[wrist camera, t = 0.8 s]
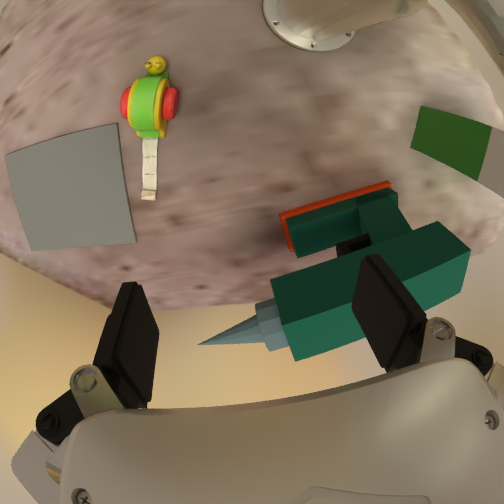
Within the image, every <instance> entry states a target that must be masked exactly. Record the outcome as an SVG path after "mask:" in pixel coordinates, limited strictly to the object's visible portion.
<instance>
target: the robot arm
mask: <svg viewBox="0 0 504 504" xmlns="http://www.w3.org/2000/svg"><path fill="white" fill-rule="evenodd" d="M445 1H446V2H447V3H448V4H449V5H450V6H451V7H452V8H453V9H454V10H455V11H456V12H457V13H458V14H459V16H460V17H461V18H462V19H463V20H464V22H465V23H466V24H467V25H468V27H469V28H470V29H471V31H472V32H473V33H474V35H475V36H476V37H477V39H478V40H479V41H480V43H481V44H482V45H483V47H484V48H485V50H486V51H487V53H488V54H489V55H490V57H491V59H492V60H493V62H494V63H495V64H496V66H497V67H498V69H499V70H500V72H501V73H502V74H503V76H504V0H445ZM426 2H427V0H263V13H264V17H265V19H266V21H267V23H268V25H269V27H270V28H271V29H272V31H273V32H274V33H275V34H276V35H277V36H278V37H279V38H281V39H282V40H284V41H285V42H286V43H288V44H290V45H292V46H294V47H296V48H299V49H302V50H305V51H311V52H326V51H332V50H335V49H338V48H340V47H342V46H344V45H345V44H347V43H348V42H349V41H350V40H351V39H352V38H353V36H354V34H355V32H356V30H358V29H361V28H364V27H367V26H370V25H374V24H377V23H381V22H384V21H388V20H392V19H397V18H401V17H405V16H408V15H411V14H413V13H415V12H417V11H418V10H420V9H421V8H422V7H423V6H424V5H425V3H426ZM273 23H276V24H277V25H274V24H273ZM346 34H347V36H346ZM311 45H313V48H312V47H311ZM351 307H352V312H353V314H354V315H355V317H356V319H357V321H358V323H359V325H360V327H361V329H362V331H363V332H364V334H365V336H366V338H367V340H368V342H369V344H370V346H371V348H372V350H373V352H374V354H375V356H376V358H377V360H378V362H379V364H380V366H381V367H382V368H385V370H386V372H387V373H385V374H382V375H379V376H376V377H373V378H369V379H366V380H362V381H359V382H355V383H351V384H347V385H344V386H340V387H336V388H331V389H327V390H323V391H318V392H314V393H309V394H304V395H299V396H293V397H288V398H282V399H276V400H269V401H263V402H255V403H246V404H237V405H227V406H215V407H200V408H199V407H198V408H173V409H147V403H148V402H150V401H151V398H152V388H153V379H154V371H155V363H156V355H157V348H158V341H159V330H158V327H157V324H156V322H155V319H154V317H153V314H152V312H151V309H150V307H149V304H148V301H147V299H146V296H145V293H144V291H143V288H142V286H141V285H138V284H137V282H124V283H122V285H121V288H120V290H119V293H118V296H117V298H116V301H115V304H114V307H113V309H112V313H111V314H110V315H109V316H108V318H107V320H106V323H105V326H104V329H103V332H102V335H101V338H100V341H99V344H98V348H97V351H96V354H95V357H94V361H93V364H92V365H89V364H88V365H83V366H81V367H79V368H77V369H76V370H75V371H74V373H73V374H72V376H71V378H70V384H69V385H70V390H69V391H67V392H66V393H64V394H63V395H62V396H60V397H59V398H58V399H56V400H55V401H54V402H52V403H51V404H50V405H48V406H47V407H45V408H44V409H43V410H42V411H41V412H40V413H39V414H38V416H37V419H36V429H37V430H36V431H35V432H34V431H33V430H32V431H31V432H30V434H29V435H28V437H27V438H26V439H25V441H24V442H23V443H22V445H21V446H20V448H19V449H18V451H17V452H16V453H15V455H14V456H13V459H12V463H11V466H12V470H13V472H14V474H15V476H16V477H17V478H18V480H19V481H20V482H21V483H22V485H23V486H24V487H25V488H26V490H27V491H28V492H29V493H30V494H31V495H32V497H33V498H34V499H35V500H36V501H37V502H38V503H39V504H504V366H503V365H501V364H500V363H498V362H495V363H493V357H492V354H491V353H490V351H489V350H487V348H485V347H483V346H481V345H478V344H475V343H473V342H470V341H467V340H465V339H462V338H460V337H457V336H455V329H454V327H453V326H452V324H451V323H450V322H449V321H447V320H445V319H443V318H440V317H434V318H431V319H429V320H428V319H427V318H426V313H425V312H424V311H423V309H422V308H421V307H420V305H419V304H418V303H417V301H416V300H415V299H414V297H413V296H412V295H411V293H410V292H409V291H408V289H407V288H406V287H405V286H404V284H403V283H402V282H401V281H400V279H399V278H398V277H397V276H396V274H395V273H394V272H393V271H392V269H391V268H390V267H389V266H388V265H387V263H386V262H385V261H384V260H383V259H382V257H381V256H380V255H379V254H370V255H366V256H365V257H364V259H362V260H361V263H360V268H359V273H358V278H357V283H356V287H355V291H354V296H353V300H352V305H351ZM138 408H145V409H138Z"/></svg>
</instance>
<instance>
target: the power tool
mask: <svg viewBox="0 0 504 504" xmlns="http://www.w3.org/2000/svg"><path fill="white" fill-rule="evenodd" d="M279 214H280V218H281V221H282V225H283V228H284V232H285V235H286V239H287V242H288V246H289V249H290V252H293V251H295V253H296V256H297V258H300V257H304V256H307V255H310V254H313V253H316V252H319V251H322V250H325V249H328V248H331V247H334V246H336V251H337V258H334V259H331V260H329V261H326V262H323V263H320V264H317V265H314V266H311V267H308V268H305V269H302V270H299V271H296V272H292V273H289V274H286V275H283V276H280V277H277V278H274V279H271V280H270V282H271V285H272V289H273V293H274V297H275V298H273V299H269V300H266V301H263V302H260V303H256V304H255V309H256V315H254V316H253V317H251V318H249V319H247V320H245V321H243V322H241V323H239V324H238V325H235V326H234V327H232V328H230V329H228V330H226V331H224V332H222V333H220V334H218V335H216V336H214V337H212V338H210V339H208V340H206V341H204V342H202V343H200V344H198V345H213V344H240V343H257V342H265V344H266V346H267V348H268V350H269V351H273V350H277V349H281V348H284V347H287V346H290V349H291V352H292V354H293V357H294V359H295V361H299V360H302V359H305V358H309V357H312V356H315V355H318V354H321V353H324V352H327V351H330V350H332V349H335V348H338V347H341V346H344V345H346V344H349V343H351V342H354V341H357V340H360V339H362V338H365V337H366V336H365V334H364V332H363V331H362V329H361V327H360V325H359V323H358V321H357V319H356V317H355V315H354V314H353V312H352V307H351V305H352V300H353V296H354V291H355V287H356V283H357V278H358V273H359V268H360V263H361V260H362V259H364V257H365V256H366V255H370V254H379V255H380V256H381V257H382V259H383V260H384V261H385V262H386V263H387V265H388V266H389V267H390V268H391V269H392V271H393V272H394V273H395V274H396V276H397V277H398V278H399V279H400V281H401V282H402V283H403V284H404V286H405V287H406V288H407V289H408V291H409V292H410V293H411V295H412V296H413V297H414V299H415V300H416V301H417V303H418V304H419V305H420V307H421V308H422V309H423V311H425V310H428V309H430V308H432V307H434V306H436V305H438V304H439V303H441V302H443V301H445V300H447V299H449V298H451V297H453V296H454V295H456V294H458V293H460V291H461V288H462V284H463V281H464V277H465V273H466V269H467V265H468V261H469V256H470V252H471V250H470V249H469V248H468V247H467V246H466V245H465V244H464V243H463V242H462V241H461V240H459V239H458V238H457V237H456V236H455V235H454V234H453V233H451V232H450V231H449V230H448V229H447V228H446V227H444V226H443V225H442V224H441V223H440V222H438V221H436V222H434V223H431V224H429V225H426V226H423V227H421V228H418V229H415V230H413V231H412V229H411V227H410V226H409V224H408V222H407V221H406V219H405V218H404V216H403V215H402V213H401V211H400V210H399V208H398V193H396V192H395V191H393V190H392V189H391V183H390V182H389V181H385V182H381V183H378V184H374V185H371V186H368V187H364V188H361V189H357V190H354V191H351V192H347V193H344V194H341V195H337V196H334V197H331V198H327V199H324V200H321V201H318V202H314V203H311V204H308V205H305V206H301V207H298V208H295V209H292V210H289V211H286V212H283V213H279Z"/></svg>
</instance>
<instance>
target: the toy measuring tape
mask: <svg viewBox="0 0 504 504" xmlns="http://www.w3.org/2000/svg"><path fill="white" fill-rule="evenodd" d="M145 68H146V69H147V71H148V74H147V75H146V76H145V77H141V78H138V79H136V80H135V81H134V83H133V84H132V87H128V88H126V89H125V91H124V92H123V94H122V97H121V103H120V111H121V115H122V117H123V118H125V119H128V123H129V125H130V126H131V127H132V128H134V129H135V130H136V133H137V136H141V138H143V144H142V147H143V150H142V151H143V163H142V166H143V171H142V179H143V190H142V193H141V199H142V200H153V201H155V200H156V197H157V193H156V190H157V174H156V173H157V146H158V138H159V137H161V138H164V137H165V136H166V127H167V120H171V119H173V118H174V117H175V115H176V112H177V107H178V99H179V91H178V89H177V88H175V87H170V83H169V80H168V75H169V72H163V71H164V70H165V68H166V61H165V59H164V58H163V57H161V56H154V57H151V58H150V59H149V60H148V61H147V63H146V64H145Z"/></svg>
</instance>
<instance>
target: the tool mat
mask: <svg viewBox="0 0 504 504" xmlns="http://www.w3.org/2000/svg"><path fill="white" fill-rule="evenodd" d="M5 161H6V166H7V171H8V175H9V180H10V184H11V188H12V192H13V196H14V199H15V203H16V206H17V210H18V213H19V216H20V219H21V222H22V225H23V228H24V231H25V234H26V237H27V240H28V242H29V245H30V248H31V250H32V251H40V250H51V249H63V248H75V247H87V246H100V245H113V244H127V243H136V242H137V238H136V234H135V229H134V224H133V219H132V215H131V209H130V204H129V199H128V193H127V187H126V181H125V175H124V168H123V161H122V154H121V146H120V137H119V127H118V123H115V124H110V125H105V126H100V127H96V128H92V129H87V130H83V131H79V132H75V133H71V134H68V135H64V136H61V137H57V138H54V139H50V140H47V141H44V142H41V143H38V144H35V145H32V146H29V147H26V148H24V149H21V150H18V151H15V152H13V153H10V154H8V155H6V156H5Z"/></svg>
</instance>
